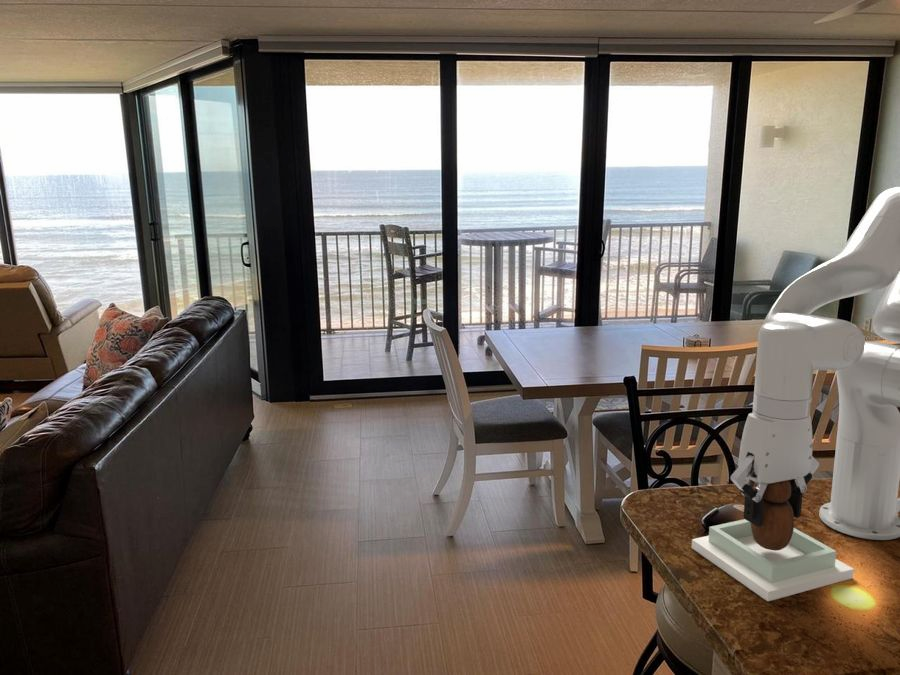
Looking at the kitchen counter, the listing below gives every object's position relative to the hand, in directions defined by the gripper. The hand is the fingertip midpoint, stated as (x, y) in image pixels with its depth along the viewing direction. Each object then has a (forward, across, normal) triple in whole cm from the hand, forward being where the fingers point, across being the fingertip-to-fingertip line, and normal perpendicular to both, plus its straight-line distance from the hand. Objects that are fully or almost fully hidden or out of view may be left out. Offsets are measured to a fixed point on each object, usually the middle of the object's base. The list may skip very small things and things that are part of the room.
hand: (771, 517), depth 103 cm
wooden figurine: (+5, 0, 0) cm, 5 cm away
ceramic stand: (+8, 0, 0) cm, 8 cm away
